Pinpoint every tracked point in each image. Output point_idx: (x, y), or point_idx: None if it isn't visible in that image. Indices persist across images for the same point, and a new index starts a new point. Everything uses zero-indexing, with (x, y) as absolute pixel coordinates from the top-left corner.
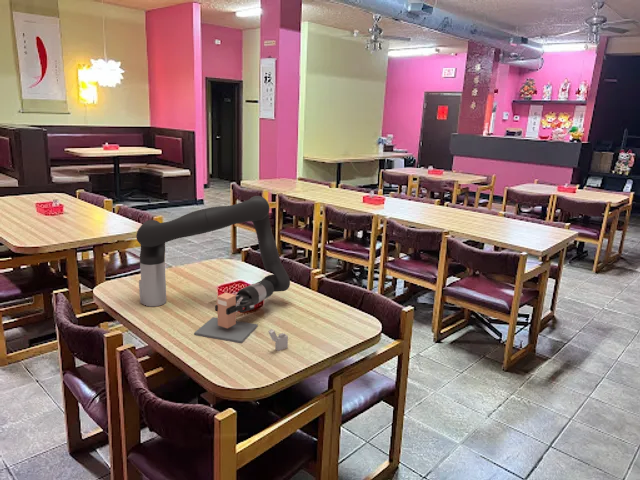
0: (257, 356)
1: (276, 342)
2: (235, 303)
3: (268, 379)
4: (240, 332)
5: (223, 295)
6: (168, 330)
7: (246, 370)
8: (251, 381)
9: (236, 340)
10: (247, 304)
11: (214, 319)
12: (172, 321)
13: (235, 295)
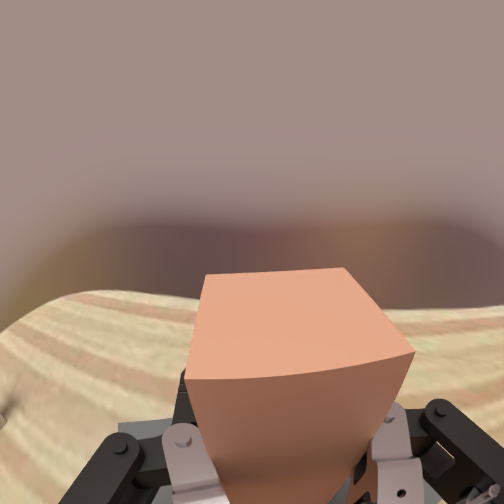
0: (49, 376)
1: None
2: (209, 452)
3: (26, 320)
4: (169, 488)
5: (328, 298)
6: (419, 341)
7: (67, 327)
8: (54, 309)
9: (143, 422)
10: (71, 493)
11: (424, 487)
12: (477, 364)
13: (185, 377)
